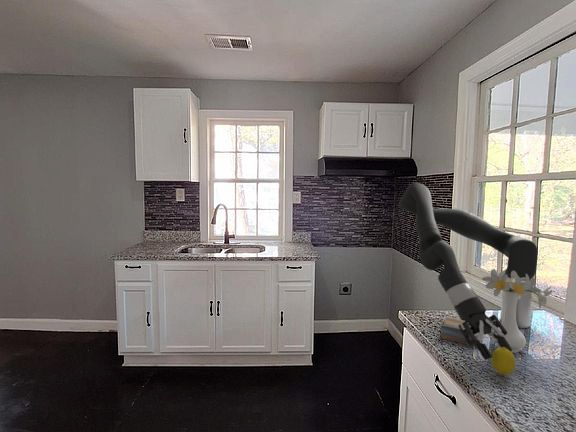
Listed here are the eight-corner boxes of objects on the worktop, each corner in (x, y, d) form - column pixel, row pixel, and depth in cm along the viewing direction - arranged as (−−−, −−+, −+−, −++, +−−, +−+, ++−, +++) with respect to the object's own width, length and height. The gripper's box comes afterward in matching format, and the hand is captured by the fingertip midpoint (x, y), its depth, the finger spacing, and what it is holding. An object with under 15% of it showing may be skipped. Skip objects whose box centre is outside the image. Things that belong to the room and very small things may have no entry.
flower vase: (544, 367, 95) (550, 282, 93) (473, 346, 108) (477, 270, 106) (548, 351, 105) (555, 274, 103) (483, 333, 117) (487, 264, 115)
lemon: (515, 383, 87) (517, 354, 87) (491, 377, 90) (492, 349, 89) (513, 373, 92) (515, 345, 91) (490, 367, 95) (491, 341, 94)
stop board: (445, 320, 129) (446, 309, 128) (481, 327, 123) (482, 315, 122) (440, 338, 113) (441, 325, 113) (481, 346, 107) (482, 333, 107)
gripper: (472, 303, 106) (504, 354, 97) (440, 309, 100) (472, 365, 91) (489, 292, 101) (526, 346, 92) (457, 298, 95) (492, 356, 86)
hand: (499, 355), depth 91 cm, fingers open, 8 cm apart
